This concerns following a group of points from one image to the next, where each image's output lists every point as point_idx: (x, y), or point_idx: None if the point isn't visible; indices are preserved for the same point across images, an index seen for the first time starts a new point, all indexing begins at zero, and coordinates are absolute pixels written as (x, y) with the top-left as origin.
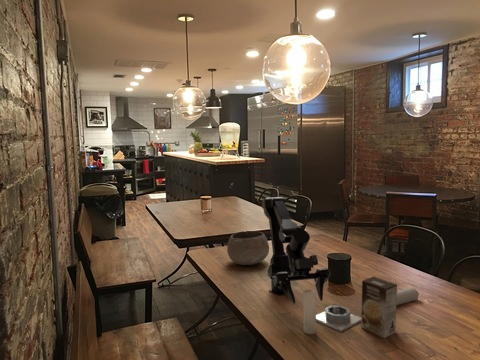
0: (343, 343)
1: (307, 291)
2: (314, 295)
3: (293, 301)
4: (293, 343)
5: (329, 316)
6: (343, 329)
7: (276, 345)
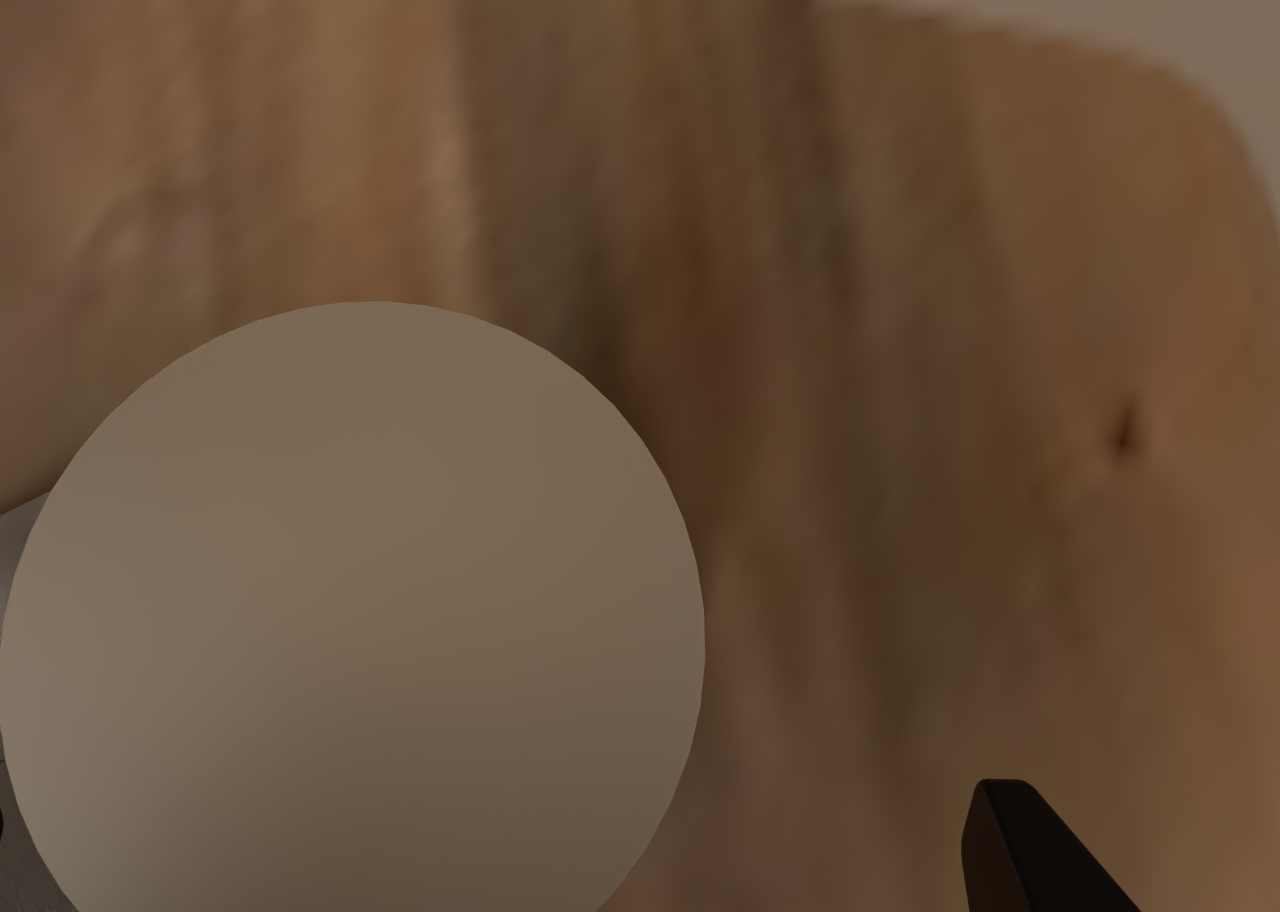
0: (244, 171)
1: (418, 785)
2: (250, 354)
3: (1051, 840)
4: (978, 335)
5: (23, 871)
6: (15, 519)
7: (1264, 339)
